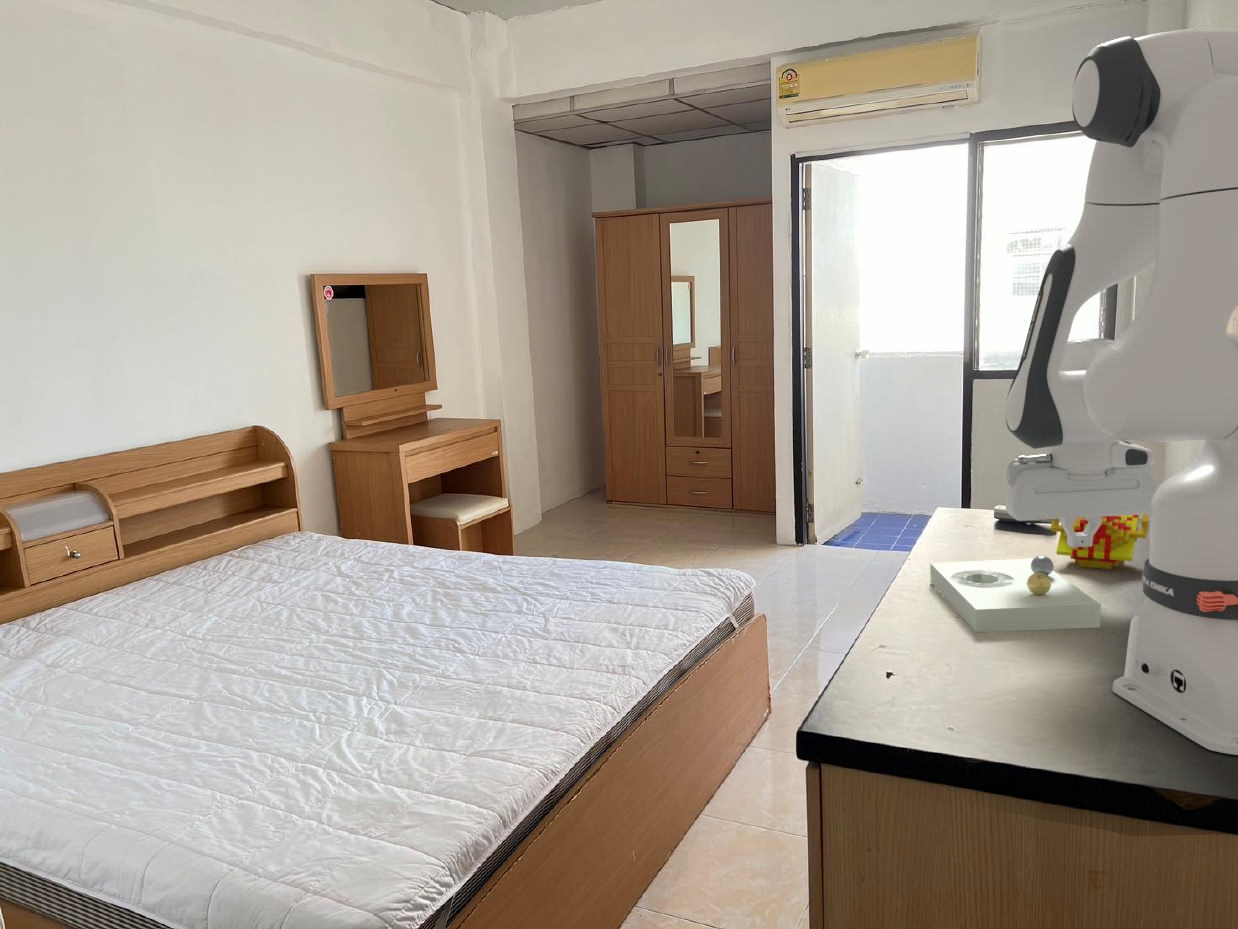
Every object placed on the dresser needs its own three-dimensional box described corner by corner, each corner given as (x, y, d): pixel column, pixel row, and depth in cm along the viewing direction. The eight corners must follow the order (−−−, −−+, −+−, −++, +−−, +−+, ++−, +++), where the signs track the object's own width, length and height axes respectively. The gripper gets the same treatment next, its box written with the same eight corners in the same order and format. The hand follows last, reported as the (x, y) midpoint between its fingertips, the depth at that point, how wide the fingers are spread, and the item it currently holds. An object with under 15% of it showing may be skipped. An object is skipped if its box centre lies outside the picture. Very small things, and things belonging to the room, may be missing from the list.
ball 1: (1056, 578, 130) (1057, 558, 130) (1035, 579, 130) (1035, 559, 130) (1048, 572, 133) (1048, 552, 133) (1027, 573, 133) (1027, 553, 133)
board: (1100, 627, 119) (1100, 604, 119) (975, 632, 121) (976, 609, 120) (1035, 578, 141) (1035, 558, 140) (930, 582, 142) (930, 563, 142)
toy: (1150, 546, 147) (1148, 476, 139) (1143, 589, 141) (1141, 519, 133) (1059, 538, 155) (1052, 471, 147) (1049, 579, 149) (1041, 512, 141)
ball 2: (1054, 597, 123) (1054, 576, 122) (1031, 598, 123) (1031, 577, 122) (1045, 590, 126) (1045, 569, 125) (1023, 591, 126) (1023, 570, 125)
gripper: (1015, 460, 126) (1013, 555, 129) (1167, 452, 125) (1163, 548, 128) (999, 452, 133) (998, 543, 135) (1144, 444, 131) (1140, 536, 134)
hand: (1079, 545), depth 131 cm, fingers closed
